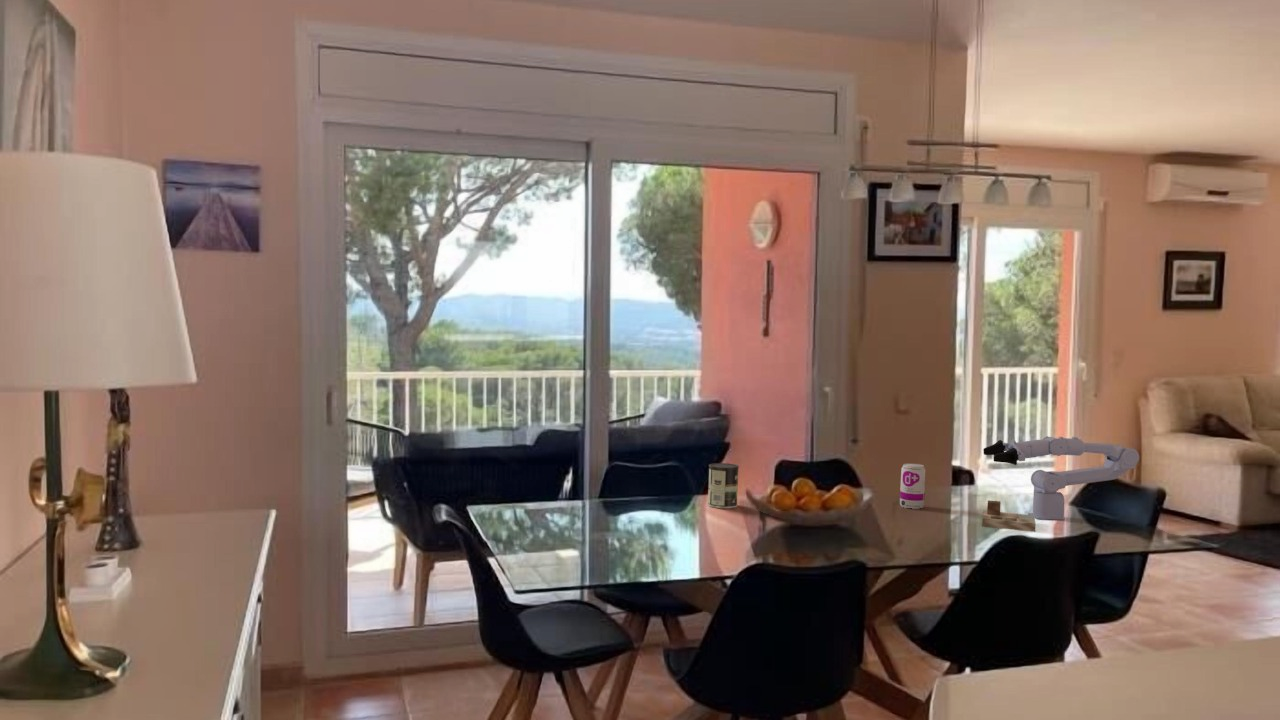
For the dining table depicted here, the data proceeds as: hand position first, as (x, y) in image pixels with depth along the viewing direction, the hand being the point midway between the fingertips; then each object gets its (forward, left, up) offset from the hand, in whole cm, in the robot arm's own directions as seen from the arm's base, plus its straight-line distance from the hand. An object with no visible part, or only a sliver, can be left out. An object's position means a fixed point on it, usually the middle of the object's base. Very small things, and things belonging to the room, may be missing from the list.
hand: (988, 455), depth 325 cm
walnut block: (+1, +8, -19) cm, 20 cm away
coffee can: (+90, -8, -21) cm, 92 cm away
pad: (-9, +12, -21) cm, 26 cm away
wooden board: (-3, +12, -21) cm, 24 cm away
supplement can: (+22, -13, -21) cm, 33 cm away
